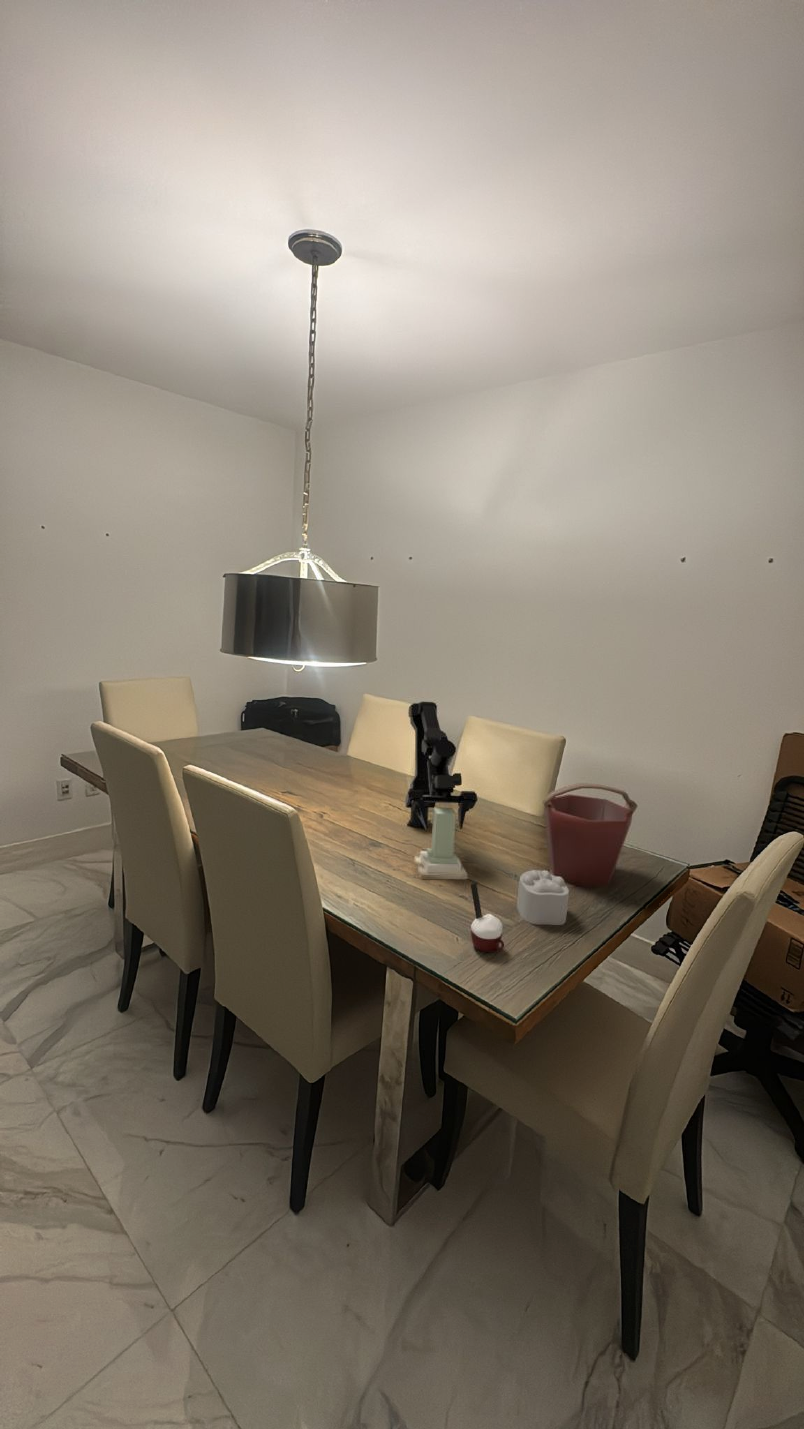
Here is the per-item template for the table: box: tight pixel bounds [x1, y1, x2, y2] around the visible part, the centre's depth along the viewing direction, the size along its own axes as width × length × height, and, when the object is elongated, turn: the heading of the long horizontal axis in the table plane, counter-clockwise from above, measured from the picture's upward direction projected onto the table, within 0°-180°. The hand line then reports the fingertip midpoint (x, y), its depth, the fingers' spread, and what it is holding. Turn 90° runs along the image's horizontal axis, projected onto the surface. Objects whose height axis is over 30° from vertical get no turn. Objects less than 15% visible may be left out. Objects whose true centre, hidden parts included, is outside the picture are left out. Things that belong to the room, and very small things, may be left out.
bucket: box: [542, 782, 638, 888], centre depth 161 cm, size 24×22×25 cm
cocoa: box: [470, 881, 505, 953], centre depth 123 cm, size 10×6×12 cm, turn 18°
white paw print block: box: [516, 869, 570, 926], centre depth 141 cm, size 10×13×9 cm
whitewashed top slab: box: [419, 850, 462, 873], centre depth 160 cm, size 9×9×2 cm
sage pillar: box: [426, 806, 458, 863], centre depth 159 cm, size 7×7×13 cm
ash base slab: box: [413, 855, 469, 880], centre depth 160 cm, size 12×12×2 cm
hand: (443, 828), depth 158 cm, fingers open, 9 cm apart
